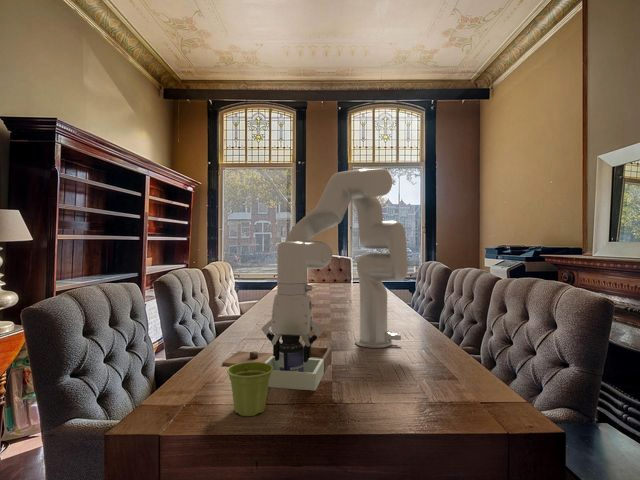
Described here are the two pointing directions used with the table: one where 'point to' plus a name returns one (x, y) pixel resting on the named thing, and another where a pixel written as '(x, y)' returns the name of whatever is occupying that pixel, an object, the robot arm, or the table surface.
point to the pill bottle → (291, 354)
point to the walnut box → (321, 354)
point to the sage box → (297, 375)
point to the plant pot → (249, 386)
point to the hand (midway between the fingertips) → (292, 359)
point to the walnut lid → (247, 358)
